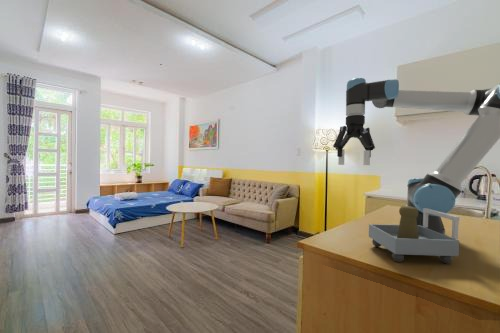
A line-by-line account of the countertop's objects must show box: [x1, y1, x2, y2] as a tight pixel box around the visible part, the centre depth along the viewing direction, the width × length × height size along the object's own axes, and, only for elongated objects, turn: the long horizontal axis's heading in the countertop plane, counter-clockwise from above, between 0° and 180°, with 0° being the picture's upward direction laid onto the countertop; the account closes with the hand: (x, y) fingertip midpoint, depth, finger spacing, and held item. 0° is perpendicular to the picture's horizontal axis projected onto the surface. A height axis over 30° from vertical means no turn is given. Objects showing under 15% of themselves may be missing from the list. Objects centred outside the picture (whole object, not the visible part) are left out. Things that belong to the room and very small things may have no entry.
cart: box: [368, 208, 460, 264], centre depth 75 cm, size 19×16×14 cm
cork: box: [397, 205, 419, 239], centre depth 75 cm, size 6×6×11 cm
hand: (354, 165), depth 101 cm, fingers open, 13 cm apart
